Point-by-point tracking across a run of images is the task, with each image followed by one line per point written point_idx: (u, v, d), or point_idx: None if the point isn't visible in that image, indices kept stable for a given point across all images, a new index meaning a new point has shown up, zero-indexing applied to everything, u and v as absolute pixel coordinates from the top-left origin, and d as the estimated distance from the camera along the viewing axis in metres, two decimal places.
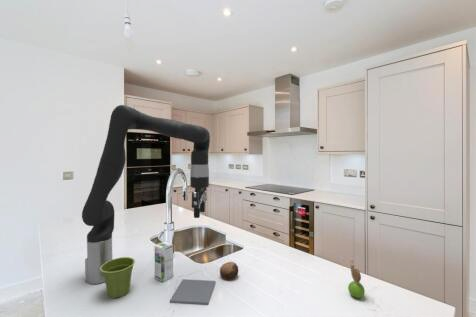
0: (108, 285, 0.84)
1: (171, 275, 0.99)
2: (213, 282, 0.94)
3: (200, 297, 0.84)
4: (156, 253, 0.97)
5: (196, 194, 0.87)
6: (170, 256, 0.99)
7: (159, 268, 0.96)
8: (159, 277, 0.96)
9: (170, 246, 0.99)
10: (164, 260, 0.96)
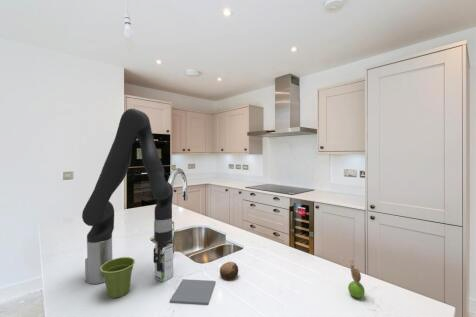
0: (108, 285, 0.84)
1: (171, 275, 0.99)
2: (213, 282, 0.94)
3: (200, 297, 0.84)
4: None
5: (157, 250, 0.92)
6: (170, 256, 0.99)
7: None
8: (159, 277, 0.96)
9: (170, 246, 0.99)
10: (164, 260, 0.96)
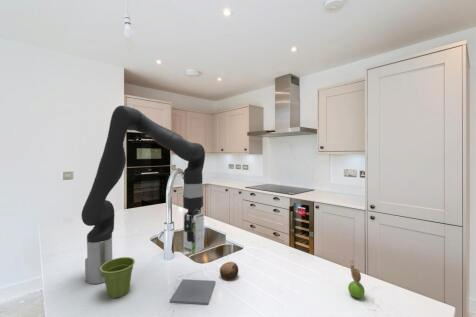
0: (108, 285, 0.84)
1: (202, 247, 0.88)
2: (213, 282, 0.94)
3: (200, 297, 0.84)
4: None
5: (189, 217, 0.81)
6: (201, 226, 0.88)
7: None
8: (189, 249, 0.86)
9: (201, 214, 0.88)
10: (195, 229, 0.85)
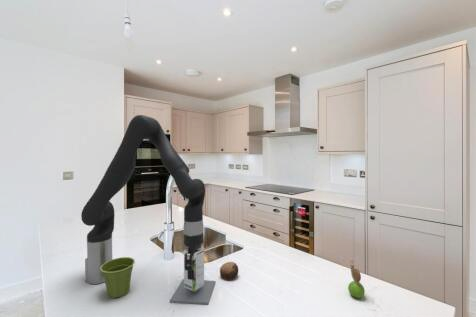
0: (108, 285, 0.84)
1: (202, 283, 0.89)
2: (213, 282, 0.94)
3: (200, 297, 0.84)
4: None
5: (189, 256, 0.82)
6: (201, 262, 0.88)
7: None
8: (190, 286, 0.86)
9: (201, 251, 0.88)
10: (195, 266, 0.85)
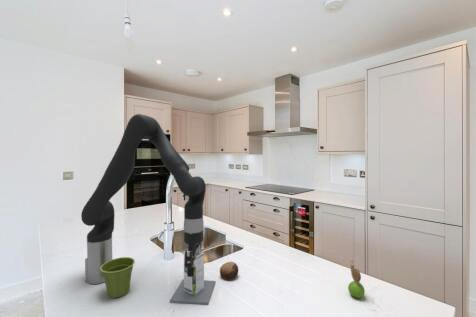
0: (108, 285, 0.84)
1: (202, 287, 0.89)
2: (213, 282, 0.94)
3: (200, 297, 0.84)
4: None
5: (189, 253, 0.82)
6: (201, 266, 0.88)
7: (190, 279, 0.86)
8: (190, 290, 0.86)
9: (201, 254, 0.88)
10: (195, 270, 0.86)
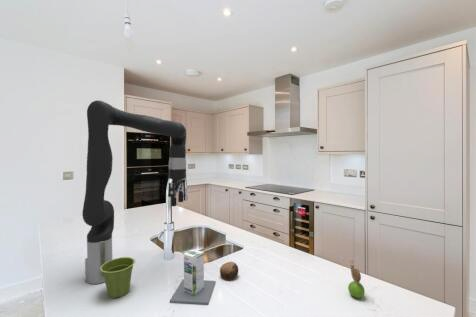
0: (108, 285, 0.84)
1: (202, 286, 0.89)
2: (213, 282, 0.94)
3: (200, 297, 0.84)
4: (186, 262, 0.87)
5: (172, 184, 0.96)
6: (201, 266, 0.89)
7: (190, 279, 0.86)
8: (190, 290, 0.86)
9: (201, 254, 0.89)
10: (195, 270, 0.86)
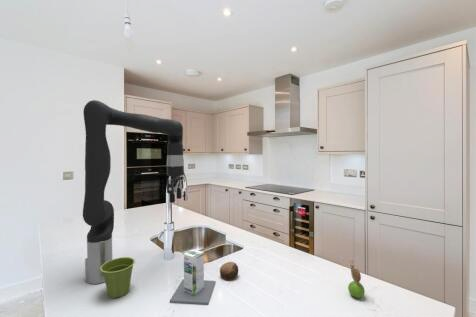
0: (108, 285, 0.84)
1: (202, 286, 0.89)
2: (213, 282, 0.94)
3: (200, 297, 0.84)
4: (186, 262, 0.87)
5: (171, 181, 0.98)
6: (201, 266, 0.89)
7: (190, 279, 0.86)
8: (190, 290, 0.86)
9: (201, 254, 0.89)
10: (195, 270, 0.86)
